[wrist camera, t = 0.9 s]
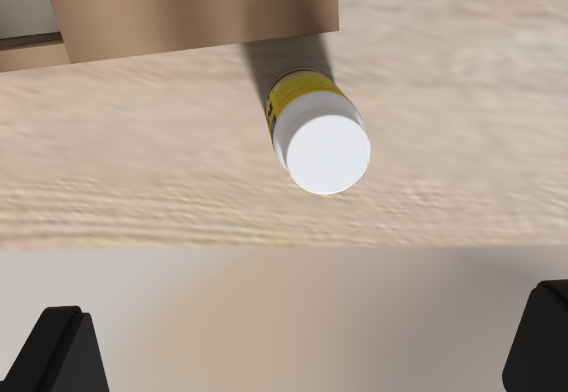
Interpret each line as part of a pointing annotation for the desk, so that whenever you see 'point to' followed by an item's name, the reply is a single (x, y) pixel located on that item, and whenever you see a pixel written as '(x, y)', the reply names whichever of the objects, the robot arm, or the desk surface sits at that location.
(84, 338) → the robot arm
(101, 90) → the desk surface
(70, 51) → the wooden tray
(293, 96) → the supplement bottle
